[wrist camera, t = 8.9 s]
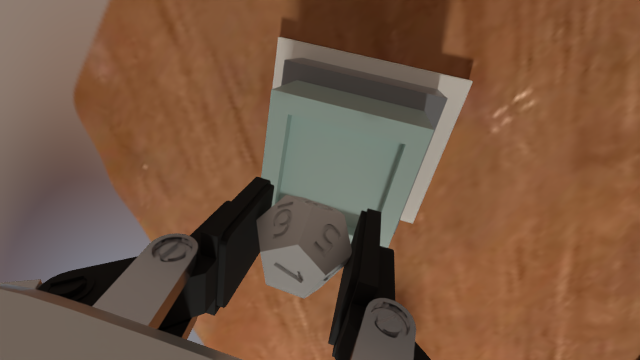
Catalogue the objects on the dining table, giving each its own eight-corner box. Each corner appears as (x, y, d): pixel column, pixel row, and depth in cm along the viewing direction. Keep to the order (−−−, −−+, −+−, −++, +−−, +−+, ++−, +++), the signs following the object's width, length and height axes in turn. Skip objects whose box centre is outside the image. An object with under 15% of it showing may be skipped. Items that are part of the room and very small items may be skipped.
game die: (296, 163, 11) (266, 201, 8) (375, 217, 11) (371, 271, 8) (256, 223, 12) (220, 271, 10) (326, 270, 13) (310, 329, 10)
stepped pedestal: (469, 79, 20) (523, 102, 12) (411, 217, 26) (422, 298, 17) (282, 37, 22) (217, 31, 14) (265, 175, 27) (211, 232, 19)
